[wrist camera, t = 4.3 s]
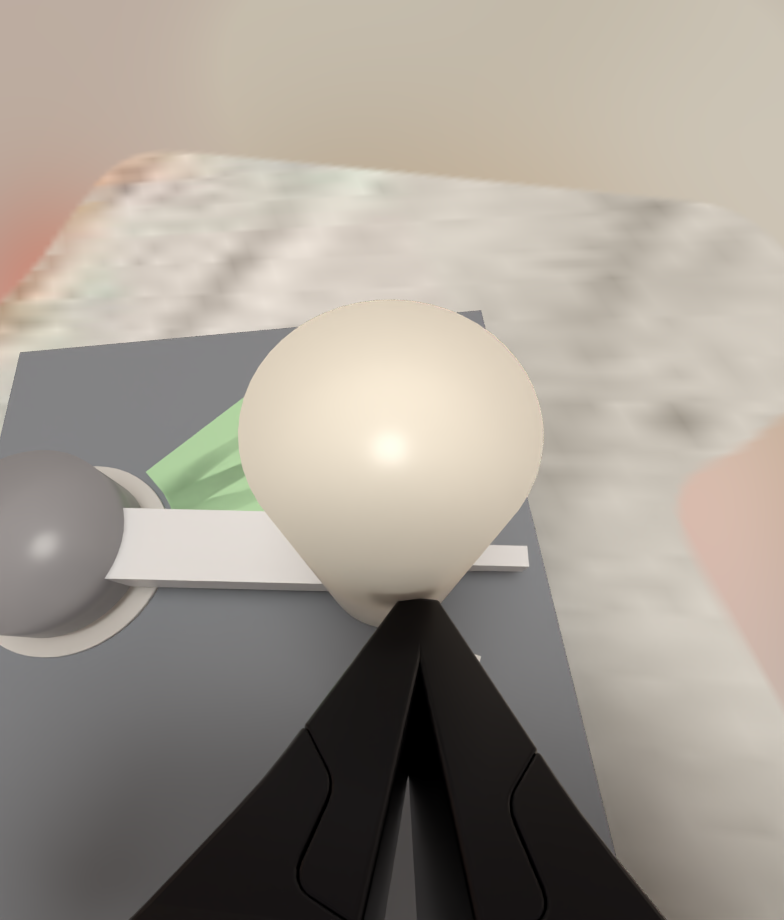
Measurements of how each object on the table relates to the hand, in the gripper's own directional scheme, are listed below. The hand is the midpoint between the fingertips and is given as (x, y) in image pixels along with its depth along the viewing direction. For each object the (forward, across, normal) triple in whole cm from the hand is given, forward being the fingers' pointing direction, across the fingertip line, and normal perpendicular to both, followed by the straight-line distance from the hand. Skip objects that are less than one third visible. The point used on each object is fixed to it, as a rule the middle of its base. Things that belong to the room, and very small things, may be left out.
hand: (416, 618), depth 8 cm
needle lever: (+5, +5, +3) cm, 8 cm away
